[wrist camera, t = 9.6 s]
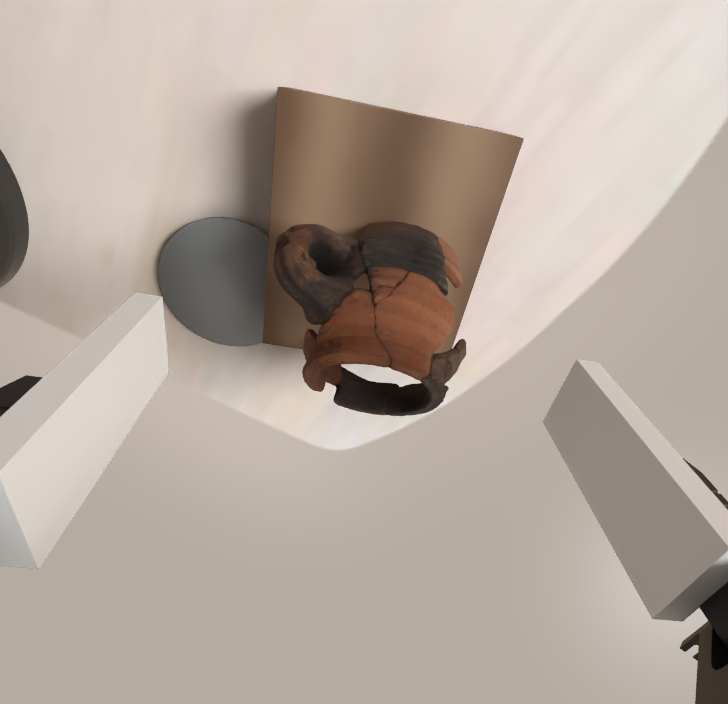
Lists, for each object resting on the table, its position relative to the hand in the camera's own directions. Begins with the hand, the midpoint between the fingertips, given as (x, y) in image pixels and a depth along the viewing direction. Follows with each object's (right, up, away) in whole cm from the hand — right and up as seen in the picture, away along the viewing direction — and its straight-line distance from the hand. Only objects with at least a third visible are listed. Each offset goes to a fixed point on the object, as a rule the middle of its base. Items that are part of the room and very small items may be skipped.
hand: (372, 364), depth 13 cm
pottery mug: (0, +6, +11) cm, 13 cm away
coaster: (-9, +5, +15) cm, 18 cm away
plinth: (0, +8, +13) cm, 15 cm away
